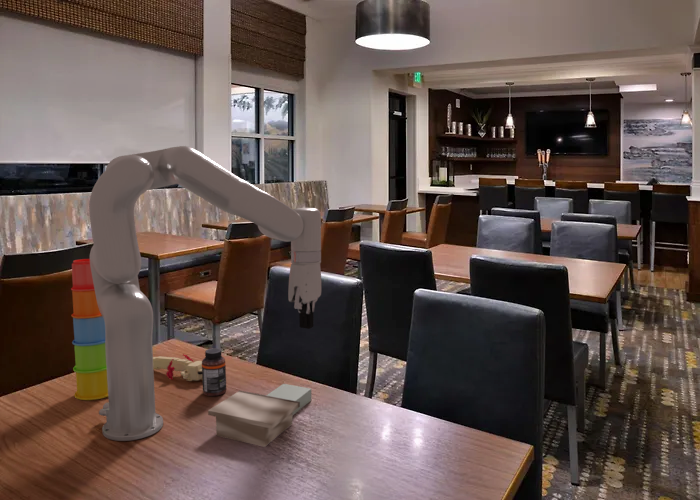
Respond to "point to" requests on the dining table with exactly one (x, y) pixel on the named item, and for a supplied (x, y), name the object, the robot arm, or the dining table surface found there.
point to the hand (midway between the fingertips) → (306, 327)
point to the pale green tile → (293, 394)
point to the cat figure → (179, 367)
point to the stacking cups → (88, 335)
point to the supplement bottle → (213, 373)
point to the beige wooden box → (253, 417)
